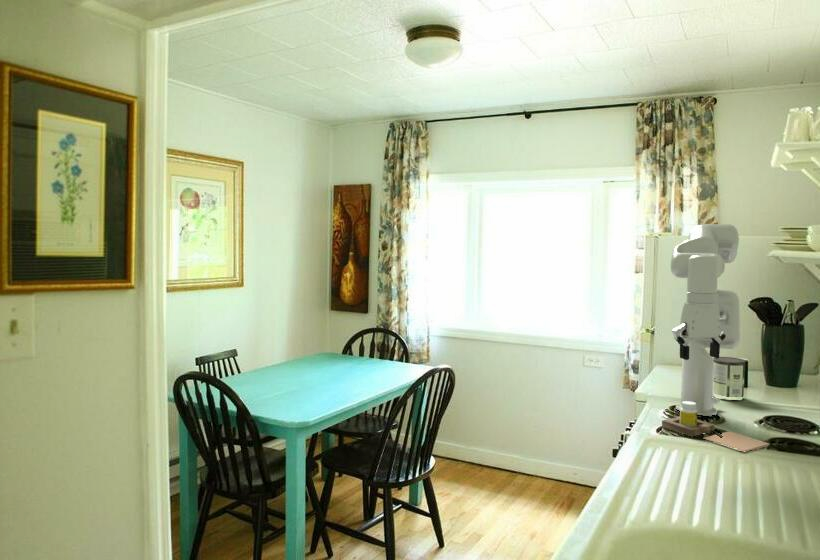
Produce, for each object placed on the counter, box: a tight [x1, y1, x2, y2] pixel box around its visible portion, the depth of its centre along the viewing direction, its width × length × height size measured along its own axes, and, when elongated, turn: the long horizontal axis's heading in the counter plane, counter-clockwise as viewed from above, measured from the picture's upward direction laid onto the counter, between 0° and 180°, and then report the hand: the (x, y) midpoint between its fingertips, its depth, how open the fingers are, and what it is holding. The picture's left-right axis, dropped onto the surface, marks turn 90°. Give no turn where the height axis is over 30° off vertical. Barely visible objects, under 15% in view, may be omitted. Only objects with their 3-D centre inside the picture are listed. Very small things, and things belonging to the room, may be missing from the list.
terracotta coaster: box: [702, 431, 770, 452], centre depth 171 cm, size 12×12×1 cm
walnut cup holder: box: [661, 416, 716, 438], centre depth 182 cm, size 10×10×2 cm
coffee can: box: [712, 356, 746, 397], centre depth 218 cm, size 10×10×14 cm
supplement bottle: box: [679, 401, 698, 427], centre depth 182 cm, size 5×5×8 cm
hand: (699, 358), depth 171 cm, fingers open, 9 cm apart
